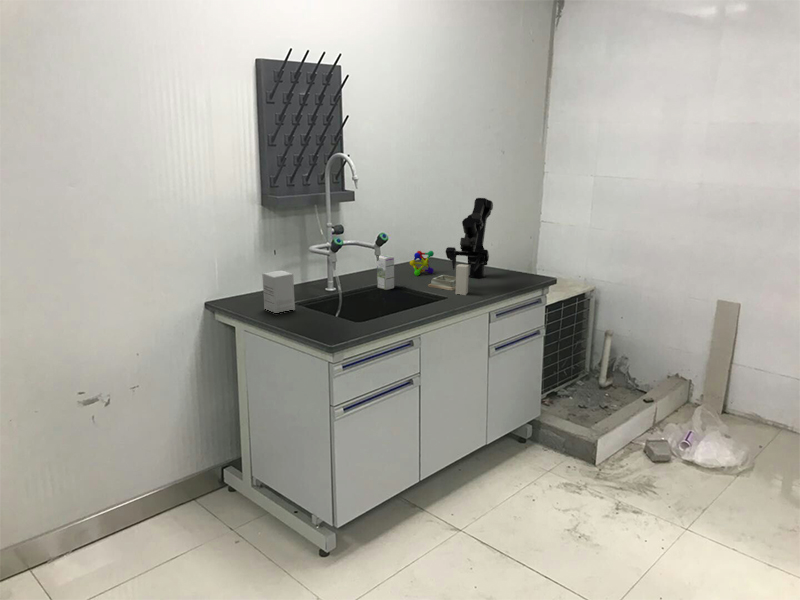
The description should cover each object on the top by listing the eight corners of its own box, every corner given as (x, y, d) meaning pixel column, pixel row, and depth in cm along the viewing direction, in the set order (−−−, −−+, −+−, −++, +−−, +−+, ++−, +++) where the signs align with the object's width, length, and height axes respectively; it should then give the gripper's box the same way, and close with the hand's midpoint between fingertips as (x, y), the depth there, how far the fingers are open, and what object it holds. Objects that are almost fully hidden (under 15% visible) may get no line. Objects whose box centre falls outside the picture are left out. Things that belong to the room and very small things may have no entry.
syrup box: (394, 288, 284) (394, 256, 280) (385, 290, 280) (385, 258, 276) (385, 285, 288) (385, 254, 284) (376, 287, 284) (376, 256, 280)
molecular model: (416, 276, 306) (417, 253, 303) (408, 273, 311) (408, 250, 308) (435, 274, 312) (436, 251, 309) (426, 271, 318) (427, 248, 315)
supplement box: (283, 305, 255) (281, 269, 251) (295, 310, 248) (294, 273, 244) (263, 309, 249) (261, 272, 245) (275, 314, 242) (273, 276, 239)
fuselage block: (457, 291, 278) (458, 264, 275) (467, 292, 277) (468, 264, 273) (455, 294, 274) (456, 266, 271) (465, 295, 272) (466, 267, 269)
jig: (441, 281, 297) (441, 274, 296) (465, 284, 290) (465, 277, 289) (428, 286, 287) (428, 279, 286) (452, 290, 280) (452, 282, 279)
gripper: (447, 229, 279) (440, 258, 271) (488, 231, 273) (482, 261, 266) (450, 243, 288) (444, 272, 280) (491, 246, 282) (485, 275, 275)
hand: (463, 270), depth 275 cm, fingers open, 9 cm apart
